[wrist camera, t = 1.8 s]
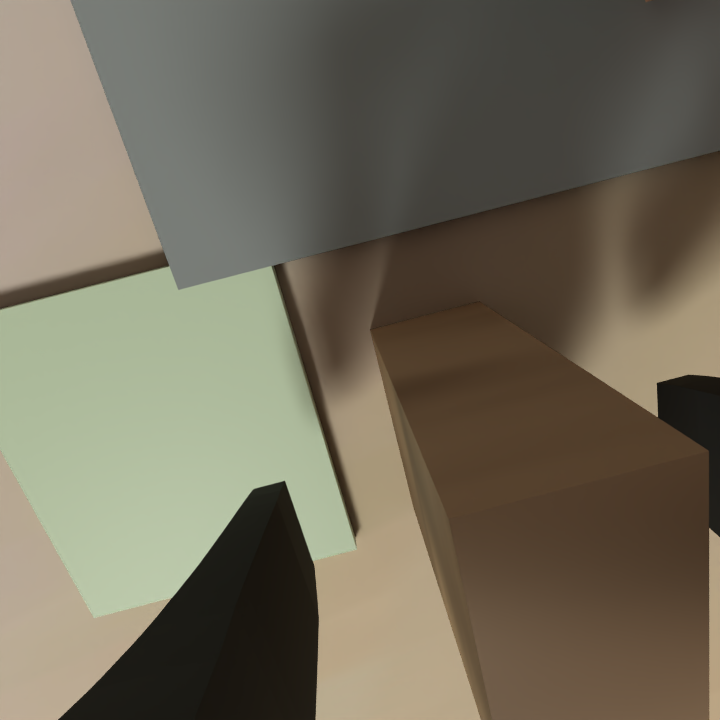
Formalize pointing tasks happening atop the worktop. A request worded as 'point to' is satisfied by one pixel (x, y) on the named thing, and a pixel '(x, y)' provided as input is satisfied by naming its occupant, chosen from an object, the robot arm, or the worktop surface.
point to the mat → (388, 111)
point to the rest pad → (160, 426)
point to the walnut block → (552, 523)
